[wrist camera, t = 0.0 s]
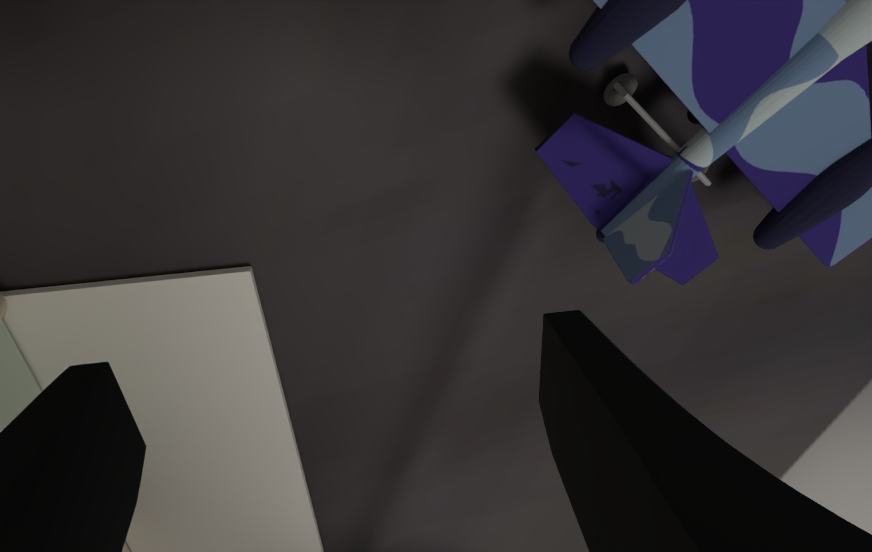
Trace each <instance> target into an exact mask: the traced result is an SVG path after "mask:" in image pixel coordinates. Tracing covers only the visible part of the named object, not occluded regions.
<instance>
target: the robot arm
mask: <svg viewBox="0 0 872 552" xmlns="http://www.w3.org/2000/svg"><path fill="white" fill-rule="evenodd" d="M539 403H540V407H541V411H542V415H543V420H544V424H545V428H546V432H547V436H548V440H549V444H550V447H551V451H552V455H553V457H554V460H555V463H556V465H557V468H558V471H559V473H560V476H561V479H562V481H563V484H564V487H565V489H566V492H567V495H568V497H569V500H570V502H571V505H572V508H573V510H574V513H575V515H576V518H577V521H578V523H579V526H580V528H581V531H582V534H583V536H584V539H585V542H586V544H587V547H588V549H589V552H872V535H871V534H869V533H868V532H866V531H864V530H862V529H860V528H858V527H857V526H855V525H853V524H851V523H850V522H848V521H846V520H844V519H843V518H841V517H839V516H838V515H836V514H835V513H833V512H831V511H829V510H828V509H826V508H825V507H823V506H821V505H820V504H818V503H816V502H815V501H813V500H811V499H810V498H808V497H806V496H805V495H803V494H801V493H800V492H798V491H796V490H795V489H793V488H792V487H790V486H789V485H787V484H786V483H784V482H783V481H781V480H780V479H778V478H776V477H775V476H773V475H772V474H770V473H769V472H768V471H766V470H765V469H763V468H762V467H760V466H759V465H758V464H756V463H755V462H753V461H752V460H750V459H749V458H748V457H746V456H745V455H743V454H742V453H740V452H739V451H738V450H736V449H735V448H733V447H732V446H731V445H729V444H728V443H727V442H725V441H724V440H723V439H721V438H720V437H719V436H717V435H716V434H715V433H714V432H712V431H711V430H710V429H709V428H707V427H706V426H705V425H704V424H702V423H701V422H700V421H699V420H697V419H696V418H695V417H694V416H693V415H691V414H690V413H689V412H688V411H686V410H685V409H684V408H683V407H682V406H681V405H679V404H678V403H677V402H676V401H675V400H674V399H672V398H671V397H670V396H669V395H668V394H667V393H666V392H665V391H663V390H662V389H661V388H660V387H659V386H658V385H657V384H656V383H655V382H653V381H652V380H651V379H650V378H649V377H648V376H647V375H646V374H645V373H643V372H642V371H641V370H640V369H639V368H638V367H637V366H636V365H635V364H634V363H633V362H632V361H631V360H630V359H629V358H628V357H627V356H626V355H625V354H624V353H622V352H621V351H620V350H619V349H618V348H617V347H616V346H615V345H614V344H613V343H612V342H611V341H610V340H609V339H608V338H607V337H606V336H605V335H604V334H603V333H602V332H601V331H600V330H599V329H598V328H597V327H596V326H595V325H594V324H593V323H592V322H591V321H590V320H589V319H588V318H587V317H586V316H585V315H584V314H583V313H582V312H581V311H580V310H574V311H565V312H556V313H547V314H544V316H543V334H542V351H541V369H540V387H539ZM145 452H146V444H145V442H144V440H143V437H142V435H141V433H140V431H139V429H138V426H137V424H136V422H135V420H134V417H133V415H132V413H131V411H130V409H129V406H128V404H127V402H126V400H125V397H124V395H123V393H122V391H121V389H120V386H119V384H118V382H117V380H116V377H115V375H114V373H113V371H112V369H111V366H110V364H109V362H99V363H90V364H81V365H72V366H69V367H68V368H67V369H66V370H65V371H64V372H62V373H61V374H60V375H59V376H58V377H57V378H56V379H55V380H54V381H53V382H52V383H51V384H50V385H48V386H47V387H46V388H45V389H44V390H43V391H42V392H41V393H40V394H39V395H38V396H37V397H36V398H35V399H34V400H33V401H32V402H31V403H30V404H29V405H28V406H27V407H26V408H25V409H24V410H23V411H22V412H21V413H20V414H19V415H18V416H17V417H16V418H15V419H14V420H13V421H12V422H11V423H10V424H8V425H7V426H6V427H5V428H4V429H3V430H2V431H1V432H0V552H122V550H123V546H124V543H125V540H126V537H127V534H128V530H129V527H130V524H131V521H132V517H133V514H134V511H135V507H136V504H137V499H138V493H139V488H140V483H141V478H142V471H143V465H144V459H145Z"/></svg>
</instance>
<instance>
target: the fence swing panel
mask: <svg viewBox="0 0 872 552" xmlns="http://www.w3.org/2000/svg"><path fill="white" fill-rule="evenodd" d="M6 312H7V304H6V301H5V299H4V297H3V296H2V294H1V293H0V432H1V431H2V430H3V429H4V428H5V427H6V426H7V425H8V424H10V423H11V422H12V421H13V420H14V419H15V418H16V417H17V416H18V415H19V414H20V413H21V412H22V411H23V410H24V409H25V408H26V407H27V406H28V405H29V404H30V403H31V402H32V401H33V400H34V399H35V398H36V397H37V396H38V395H39V394H40V393H41V390H40V388H39V386H38V384H37V383H36V381H35V379H34V377H33V375H32V373H31V372H30V370H29V368H28V366H27V364H26V362H25V361H24V359H23V357H22V355H21V353H20V352H19V350H18V348H17V346H16V344H15V342H14V341H13V339H12V337H11V335H10V333H9V331H8V330H7V328H6V326H5V324H4V322H3V320H2V319H3V317H4V316H5V314H6Z"/></svg>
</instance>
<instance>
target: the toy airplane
mask: <svg viewBox="0 0 872 552" xmlns="http://www.w3.org/2000/svg"><path fill="white" fill-rule="evenodd" d="M593 1H594V2H595V3H596V5H597V6H598V7H597V8H596V10H595V11H594V12H593V14H592V15H591V17H590V18H589V20H588V21H587V23H586V24H585V25H584V27H583V28H582V30H581V31H580V33H579V34H578V36H577V37H576V39H575V40H574V41H573V43H572V44H571V47H570V50H569V58H570V61H571V63H572V64H573V65H574V67H576V68H577V69H579V70H583V71H588V70H592V69H594V68H596V67H597V66H599V65H600V64H602V63H603V62H605V61H606V60H608V59H609V58H611V57H613V56H614V55H616V54H617V53H619V52H620V51H622V50H623V49H625V48H626V47H628V46H629V45H632V46H633V47H634V48H635V49H636V50H637V52H638V53H639V54H640V55H641V56H642V57H643V58H644V60H645V61H646V62H647V63H648V64H649V65H650V66H651V68H652V69H653V70H654V71H655V72H656V73H657V74H658V76H659V77H660V78H661V79H662V80H663V81H664V82H665V84H666V85H667V86H668V87H669V88H670V89H671V90H672V92H673V93H674V94H675V95H676V96H677V97H678V98H679V100H680V101H681V102H682V103H683V104H684V105H685V106H686V108H687V109H688V112H687V116H688V119H689V121H690V122H691V123H694V124H701V125H702V126H703V127H702V128H701V129H700V130H699V131H698V132H697V133H696V134H695V135H694V136H693V137H692V138H691V139H690V140H689V141H688V142H686V143H685V144H684V145H683V146H682V147H681V148H680V147H679V146H678V145H677V144H676V143H675V142H674V141H673V140H672V139H671V138H670V137H669V136H668V135H667V133H666V132H665V131H664V130H663V129H662V128H661V127H660V126H659V125H658V124H657V123H656V122H655V121H654V120H653V119H652V117H651V116H650V115H649V114H648V113H647V112H646V111H645V110H644V109H643V108H642V107H641V106H640V105H639V104H638V103H637V101H636V100H635V99H634V98H633V97H632V95H633V94H634V92H635V90H636V88H637V79H636V77H635V76H634V75H632V74H630V73H624V74H621V75H619V76H617V77H616V78H614V79H613V80H612V81H611V82H610V83H609V84H608V86H607V88H606V89H605V91H604V101H605V102H606V103H607V104H608V105H610V106H618V105H621V104H623V103H624V102H626V101H627V102H628V103H629V104H630V105H631V106H632V107H633V108H634V109H635V110H636V111H637V112H638V113H639V114H640V115H641V117H642V118H643V119H644V120H645V121H646V122H647V123H648V124H649V125H650V126H651V127H652V128H653V129H654V130H655V131H656V132H657V133H658V135H659V136H660V137H661V138H662V139H663V140H664V141H665V142H666V143H667V144H668V145H669V146H670V147H671V148H672V149H673V150H674V152H675V154H674V155H673V156H672V157H669V156H667V155H665V154H663V153H661V152H659V151H656V150H654V149H652V148H650V147H648V146H646V145H643V144H641V143H639V142H637V141H635V140H633V139H630V138H628V137H626V136H624V135H622V134H620V133H618V132H615V131H613V130H611V129H609V128H607V127H605V126H602V125H600V124H598V123H596V122H594V121H592V120H589V119H587V118H585V117H583V116H581V115H579V114H576V113H574V112H571V113H570V114H569V115H568V116H567V117H566V118H565V119H564V120H563V121H562V122H561V123H560V124H559V125H558V126H557V127H556V128H555V129H554V130H553V131H552V132H551V133H550V134H549V135H548V136H547V137H546V138H545V139H544V140H543V141H542V142H541V143H540V144H539V145H538V146H537V147H536V148H535V150H536V152H537V153H538V154H539V156H540V157H541V158H542V160H543V161H544V162H545V164H546V165H547V166H548V168H549V169H550V170H551V172H552V173H553V174H554V175H555V177H556V178H557V179H558V181H559V182H560V183H561V185H562V186H563V187H564V189H565V190H566V191H567V192H568V194H569V195H570V196H571V198H572V199H573V200H574V202H575V203H576V204H577V206H578V207H579V208H580V210H581V211H582V212H583V213H584V215H585V216H586V217H587V219H588V220H589V221H590V223H591V224H592V225H593V226H594V227H595V228H597V229H598V230H597V232H596V236H597V238H598V240H599V241H601V242H604V243H605V244H606V246H607V248H608V249H609V251H610V253H611V254H612V256H613V258H614V259H615V261H616V263H617V264H618V266H619V268H620V269H621V271H622V273H623V274H624V276H625V278H626V279H627V281H629V282H630V283H631V284H636V283H637V282H639V281H640V280H641V279H642V278H644V277H645V276H646V275H647V274H648V273H650V272H651V271H652V270H653V269H656V270H658V271H659V272H661V273H663V274H664V275H666V276H668V277H669V278H671V279H673V280H674V281H676V282H678V283H679V284H681V285H684V284H685V283H686V282H688V281H689V280H690V279H692V278H693V277H694V276H696V275H697V274H698V273H700V272H701V271H702V270H704V269H705V268H706V267H707V266H709V265H710V264H711V263H713V262H714V261H715V260H717V259H718V258H719V257H718V254H717V251H716V249H715V246H714V243H713V241H712V238H711V235H710V233H709V230H708V227H707V225H706V222H705V219H704V217H703V214H702V211H701V209H700V206H699V203H698V201H697V198H696V195H695V193H694V190H693V187H692V184H691V182H694V181H697V180H698V179H700V180H701V181H702V182H703V183H704V184H705V185H706V186H710V184H711V182H710V180H709V179H708V178H707V177H706V176H705V175H704V174H705V173H706V172H707V170H708V168H709V165H710V164H711V163H712V162H714V161H715V160H716V159H718V158H719V157H720V156H721V155H723V154H724V153H726V154H727V155H728V156H729V158H730V159H731V160H732V161H733V162H734V163H735V164H736V165H737V167H738V168H739V169H740V170H741V171H742V172H743V173H744V175H745V176H746V177H747V178H748V179H749V180H750V181H751V182H752V184H753V185H754V186H755V187H756V188H757V189H758V190H759V192H760V193H761V194H762V195H763V196H764V197H765V198H766V199H767V201H768V202H769V203H770V204H771V205H772V206H773V208H772V210H771V211H770V212H769V213H768V214H767V216H766V217H765V218H764V219H763V220H762V222H761V223H760V224H759V225H758V226H757V227H756V229H755V230H754V233H753V238H754V242H755V243H756V244H757V245H758V246H759V247H761V248H763V249H768V250H769V249H774V248H776V247H778V246H780V245H782V244H784V243H786V242H788V241H790V240H792V239H794V238H795V237H797V236H799V237H800V238H801V239H802V240H803V241H804V243H805V244H806V245H807V246H808V247H809V248H810V249H811V250H812V252H813V253H814V254H815V255H816V256H817V257H818V258H819V260H820V261H821V262H822V263H823V264H824V265H825V266H833V265H835V264H836V263H837V262H839V261H840V260H842V259H843V258H844V257H846V256H847V255H848V254H850V253H851V252H853V251H854V250H855V249H857V248H858V247H859V246H861V245H862V244H864V243H865V242H866V241H868V240H869V239H870V238H872V128H871V121H870V103H869V84H868V66H867V48H866V44H867V43H869V42H870V41H872V0H593Z"/></svg>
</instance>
